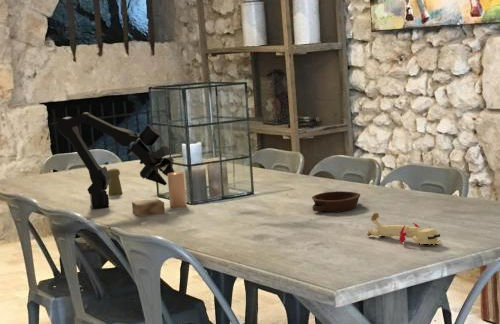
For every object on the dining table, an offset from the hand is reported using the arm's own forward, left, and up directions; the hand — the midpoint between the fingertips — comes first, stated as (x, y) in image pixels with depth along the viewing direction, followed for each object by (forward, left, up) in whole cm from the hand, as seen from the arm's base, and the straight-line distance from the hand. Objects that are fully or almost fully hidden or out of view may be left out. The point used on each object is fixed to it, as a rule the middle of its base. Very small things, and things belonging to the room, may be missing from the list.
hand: (171, 182), depth 344 cm
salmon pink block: (+1, -1, -9) cm, 10 cm away
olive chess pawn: (-14, +43, -10) cm, 46 cm away
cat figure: (+43, -101, -10) cm, 111 cm away
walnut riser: (-12, -5, -9) cm, 16 cm away
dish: (+48, -45, -10) cm, 67 cm away
